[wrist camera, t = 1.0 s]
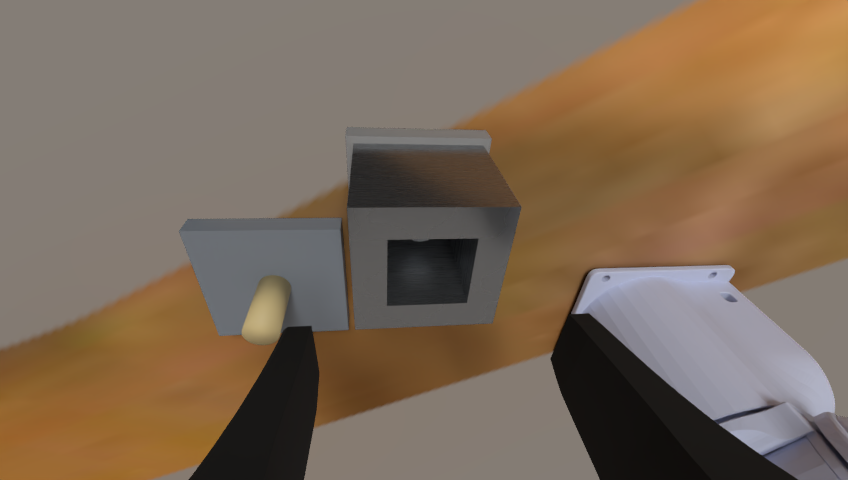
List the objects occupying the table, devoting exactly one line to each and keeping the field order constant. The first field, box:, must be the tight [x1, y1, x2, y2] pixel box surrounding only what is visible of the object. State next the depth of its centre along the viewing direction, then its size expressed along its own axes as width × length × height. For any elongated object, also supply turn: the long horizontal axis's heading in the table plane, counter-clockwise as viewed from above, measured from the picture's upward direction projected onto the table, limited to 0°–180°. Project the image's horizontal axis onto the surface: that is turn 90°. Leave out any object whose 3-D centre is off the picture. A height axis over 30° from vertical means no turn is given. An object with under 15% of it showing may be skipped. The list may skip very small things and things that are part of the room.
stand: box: [345, 127, 492, 242], centre depth 17 cm, size 6×6×3 cm
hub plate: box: [179, 218, 349, 345], centre depth 18 cm, size 7×7×4 cm
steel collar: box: [347, 143, 521, 329], centre depth 15 cm, size 5×5×5 cm
